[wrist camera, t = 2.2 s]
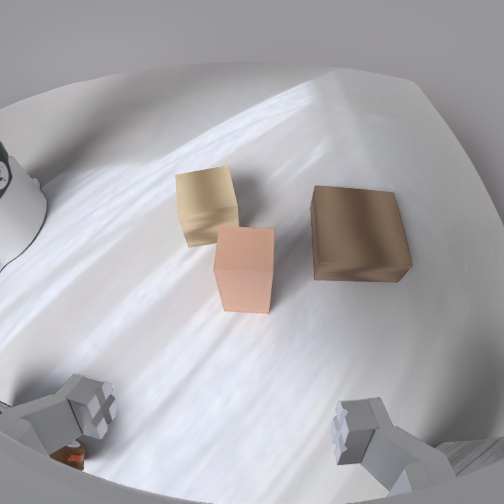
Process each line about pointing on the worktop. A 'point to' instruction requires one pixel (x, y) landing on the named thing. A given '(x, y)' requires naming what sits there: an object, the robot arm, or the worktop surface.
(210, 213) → the oak cube
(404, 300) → the worktop surface
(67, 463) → the tin
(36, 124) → the worktop surface
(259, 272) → the terracotta block
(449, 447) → the coffee box
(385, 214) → the walnut block
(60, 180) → the worktop surface
